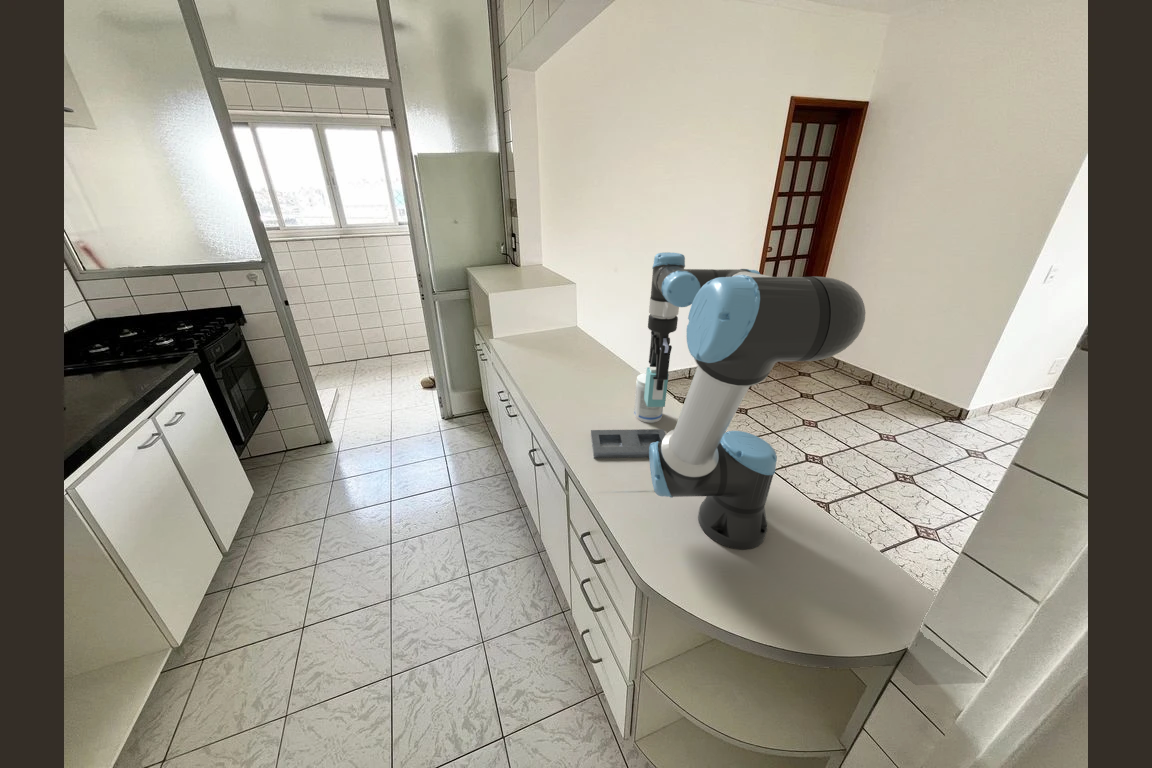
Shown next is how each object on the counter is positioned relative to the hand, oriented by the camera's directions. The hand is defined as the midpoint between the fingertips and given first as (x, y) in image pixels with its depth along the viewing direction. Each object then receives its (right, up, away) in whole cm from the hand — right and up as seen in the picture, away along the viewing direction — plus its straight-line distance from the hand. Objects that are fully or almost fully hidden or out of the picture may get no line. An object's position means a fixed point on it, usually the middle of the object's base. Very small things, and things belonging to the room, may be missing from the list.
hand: (655, 394), depth 117 cm
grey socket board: (-6, -16, +8) cm, 19 cm away
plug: (0, -2, +1) cm, 3 cm away
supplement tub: (+2, -9, +25) cm, 26 cm away
